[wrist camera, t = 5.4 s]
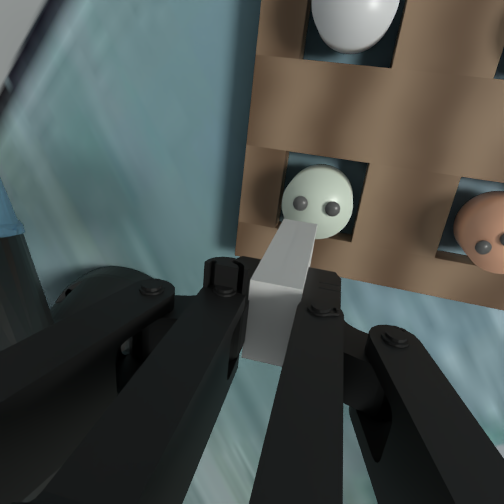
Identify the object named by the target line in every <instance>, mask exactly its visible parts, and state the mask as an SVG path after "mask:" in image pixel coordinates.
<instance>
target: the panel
mask: <svg viewBox="0 0 504 504" xmlns="http://www.w3.org/2000/svg"><path fill="white" fill-rule="evenodd" d="M311 2H312V0H261V9H260V19H259V28H258V38H257V48H256V57H255V67H254V76H253V86H252V96H251V105H250V115H249V124H248V134H247V144H246V153H245V163H244V172H243V182H242V192H241V201H240V211H239V221H238V230H237V240H236V249H235V256H240V257H241V256H246V257H252V258H257V259H262V258H263V256H264V254H265V252H266V250H267V249H268V247H269V245H270V243H271V241H272V239H273V238H274V236H275V234H276V232H277V230H278V229H279V227H280V225H281V223H282V222H281V221H279V219H280V212H281V205H282V198H283V192H284V185H285V178H286V171H287V165H288V158H289V151H291V152H298V153H305V154H312V155H318V156H325V157H332V158H339V159H346V160H352V161H359V162H366V163H368V165H367V169H366V173H365V178H364V182H363V186H362V191H361V195H360V199H359V204H358V208H357V213H356V217H355V221H354V226H353V230H352V234H346V233H341V232H338V233H337V234H335V235H333V236H331V237H328V238H324V239H315V241H314V247H313V253H312V258H311V264H310V267H311V268H316V269H322V270H327V271H333V272H336V273H337V275H338V276H339V277H343V278H348V279H353V280H358V281H363V282H367V283H372V284H377V285H382V286H387V287H392V288H397V289H402V290H407V291H412V292H416V293H421V294H426V295H431V296H436V297H441V298H446V299H451V300H456V301H460V302H465V303H470V304H475V305H480V306H485V307H490V308H495V309H500V310H504V274H497V273H491V272H488V271H485V270H483V269H481V268H479V267H478V266H477V265H475V264H474V263H473V262H472V261H471V259H470V258H469V257H468V256H466V255H461V254H455V253H450V252H444V251H439V250H437V249H438V245H439V242H440V239H441V236H442V233H443V230H444V227H445V224H446V221H447V218H448V215H449V212H450V209H451V206H452V203H453V200H454V197H455V194H456V191H457V188H458V185H459V182H460V179H461V177H468V178H474V179H481V180H488V181H495V182H501V183H504V80H501V79H493V78H494V75H495V72H496V69H497V66H498V63H499V60H500V57H501V54H502V51H503V48H504V0H405V3H404V8H403V12H402V16H401V21H400V25H399V29H398V34H397V38H396V42H395V47H394V51H393V56H392V60H391V64H390V68H383V67H373V66H363V65H353V64H343V63H333V62H323V61H314V60H304V59H303V57H304V50H305V43H306V36H307V30H308V23H309V16H310V9H311Z"/></svg>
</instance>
